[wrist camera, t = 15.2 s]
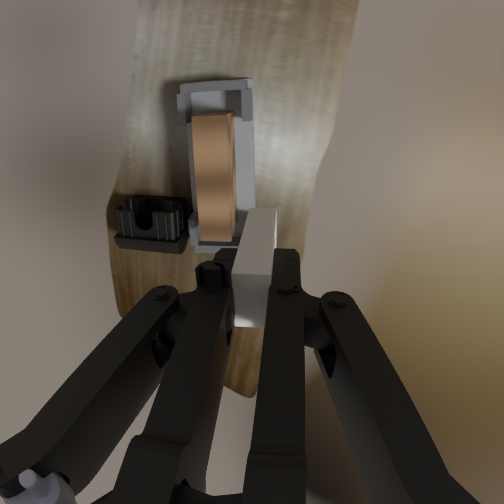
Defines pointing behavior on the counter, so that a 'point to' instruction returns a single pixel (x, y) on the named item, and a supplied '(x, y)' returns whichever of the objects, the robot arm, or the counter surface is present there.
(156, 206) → the end cap
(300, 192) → the counter surface
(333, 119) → the counter surface
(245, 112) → the holder
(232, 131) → the wooden block
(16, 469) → the robot arm
